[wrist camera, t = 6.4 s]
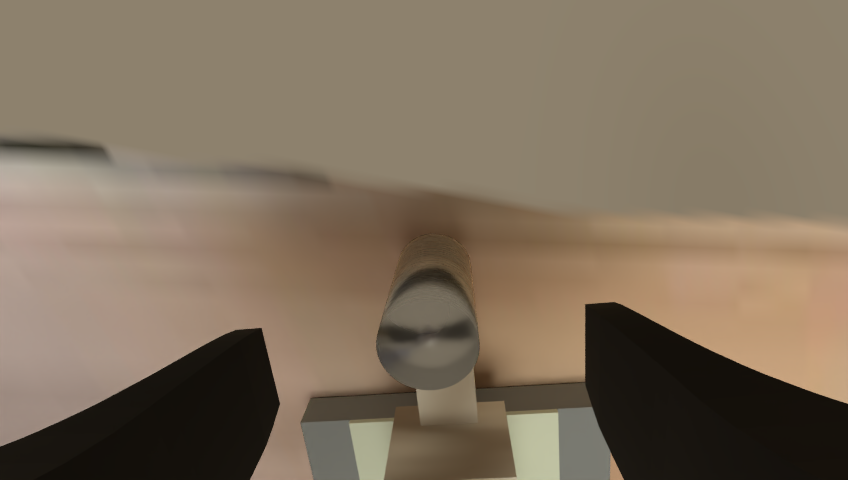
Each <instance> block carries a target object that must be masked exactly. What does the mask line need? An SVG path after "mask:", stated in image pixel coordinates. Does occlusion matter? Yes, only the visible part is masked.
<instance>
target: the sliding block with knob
mask: <svg viewBox="0 0 848 480" xmlns="http://www.w3.org/2000/svg"><path fill="white" fill-rule="evenodd" d="M376 347H377V353H378V357H379V359H380V362H381V364H382V365H383V367H384V368H385V370H386V371H387V372H388V373H389V374H390V375H391V376H392V377H393V378H394V379H396V380H397V381H399V382H400V383H402V384H404V385H406V386H409V387H412V388H415V389H416V393H417V401H418V406H402V407H396V410H395V416H394V422H393V428H392V434H391V440H390V446H389V452H388V458H387V464H386V470H385V476H384V480H517V476H516V470H515V464H514V458H513V452H512V446H511V440H510V434H509V428H508V422H507V416H506V410H505V404H504V401H492V402H477V401H476V390H475V378H474V366H475V364H476V362H477V359H478V355H479V335H478V326H477V317H476V308H475V298H474V289H473V280H472V271H471V263H470V259H469V256H468V254H467V252H466V250H465V249H464V247H463V246H462V245H461V244H460V243H459V242H457V241H456V240H454V239H453V238H451V237H449V236H446V235H442V234H426V235H422V236H419V237H417V238H415V239H414V240H412V241H411V242H410V243H408V244H407V245H406V247H405V248H404V249H403V251H402V253H401V255H400V257H399V261H398V264H397V268H396V271H395V275H394V278H393V282H392V285H391V289H390V292H389V296H388V299H387V302H386V306H385V309H384V313H383V316H382V320H381V323H380V327H379V330H378V334H377V340H376Z"/></svg>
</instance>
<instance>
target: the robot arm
mask: <svg viewBox="0 0 848 480" xmlns="http://www.w3.org/2000/svg"><path fill="white" fill-rule="evenodd" d="M585 386H586V389H587V392H588V395H589V398H590V402H591V405H592V408H593V411H594V414H595V417H596V420H597V423H598V426H599V428H600V430H601V432H602V435H603V437H604V439H605V441H606V443H607V445H608V447H609V449H610V452H611V454H612V456H613V458H614V460H615V462H616V464H617V466H618V468H619V470H620V472H621V474H622V476H623V478H624V480H848V404H847V403H843V402H840V401H837V400H834V399H831V398H828V397H825V396H822V395H819V394H816V393H813V392H810V391H808V390H805V389H802V388H800V387H797V386H794V385H792V384H789V383H786V382H784V381H781V380H778V379H776V378H773V377H770V376H768V375H765V374H763V373H760V372H758V371H755V370H753V369H751V368H748V367H746V366H744V365H741V364H739V363H737V362H735V361H733V360H730V359H728V358H726V357H724V356H722V355H719V354H717V353H715V352H713V351H711V350H709V349H706V348H704V347H702V346H700V345H698V344H696V343H694V342H692V341H690V340H688V339H686V338H684V337H682V336H680V335H679V334H677V333H675V332H673V331H671V330H669V329H667V328H665V327H663V326H661V325H659V324H658V323H656V322H654V321H652V320H650V319H648V318H646V317H644V316H643V315H641V314H639V313H637V312H635V311H633V310H631V309H629V308H627V307H625V306H623V305H621V304H618V303H616V302H610V303H597V304H585ZM279 405H280V402H279V398H278V394H277V390H276V386H275V382H274V378H273V374H272V369H271V365H270V361H269V357H268V353H267V349H266V345H265V341H264V336H263V332H262V328H256V329H243V330H235V331H232V332H230V333H227V334H225V335H223V336H221V337H219V338H217V339H215V340H213V341H211V342H209V343H207V344H205V345H204V346H202V347H200V348H198V349H196V350H195V351H193V352H191V353H189V354H188V355H186V356H184V357H182V358H181V359H179V360H177V361H175V362H173V363H172V364H170V365H168V366H166V367H165V368H163V369H161V370H159V371H158V372H156V373H154V374H152V375H150V376H149V377H147V378H145V379H143V380H141V381H139V382H137V383H136V384H134V385H132V386H130V387H128V388H126V389H124V390H122V391H121V392H119V393H117V394H115V395H113V396H111V397H109V398H107V399H106V400H104V401H102V402H100V403H98V404H96V405H94V406H92V407H90V408H88V409H86V410H84V411H82V412H79V413H77V414H75V415H73V416H71V417H69V418H67V419H64V420H62V421H60V422H58V423H56V424H53V425H51V426H49V427H47V428H45V429H42V430H40V431H38V432H36V433H33V434H31V435H29V436H26V437H24V438H21V439H19V440H16V441H14V442H11V443H9V444H6V445H3V446H1V447H0V480H250V478H251V476H252V474H253V472H254V470H255V468H256V466H257V464H258V462H259V460H260V458H261V456H262V453H263V451H264V449H265V447H266V445H267V442H268V439H269V436H270V433H271V431H272V428H273V425H274V421H275V418H276V415H277V412H278V408H279Z"/></svg>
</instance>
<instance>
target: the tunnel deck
mask: <svg viewBox="0 0 848 480" xmlns="http://www.w3.org/2000/svg"><path fill="white" fill-rule="evenodd" d="M475 390H476V401H477V402H492V401H504V404H505V410H506V416H507V422H508V428H509V434H510V440H511V446H512V452H513V458H514V464H515V470H516V476H517V480H610V449H609V447H608V445H607V443H606V441H605V439H604V437H603V435H602V432H601V430H600V428H599V426H598V423H597V420H596V417H595V414H594V411H593V408H592V405H591V402H590V398H589V395H588V392H587V389H586V386H585V383H569V384H552V385H535V386H517V387H500V388H483V389H475ZM402 406H418V401H417V393H416V392H414V393H397V394H379V395H362V396H345V397H327V398H311V400H310V402H309V404H308V407H307V409H306V411H305V414H304V416H303V418H302V420H301V427H302V431H303V436H304V440H305V444H306V449H307V453H308V457H309V461H310V466H311V470H312V474H313V479H314V480H384V476H385V470H386V464H387V458H388V452H389V446H390V440H391V434H392V428H393V422H394V416H395V410H396V407H402Z"/></svg>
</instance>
